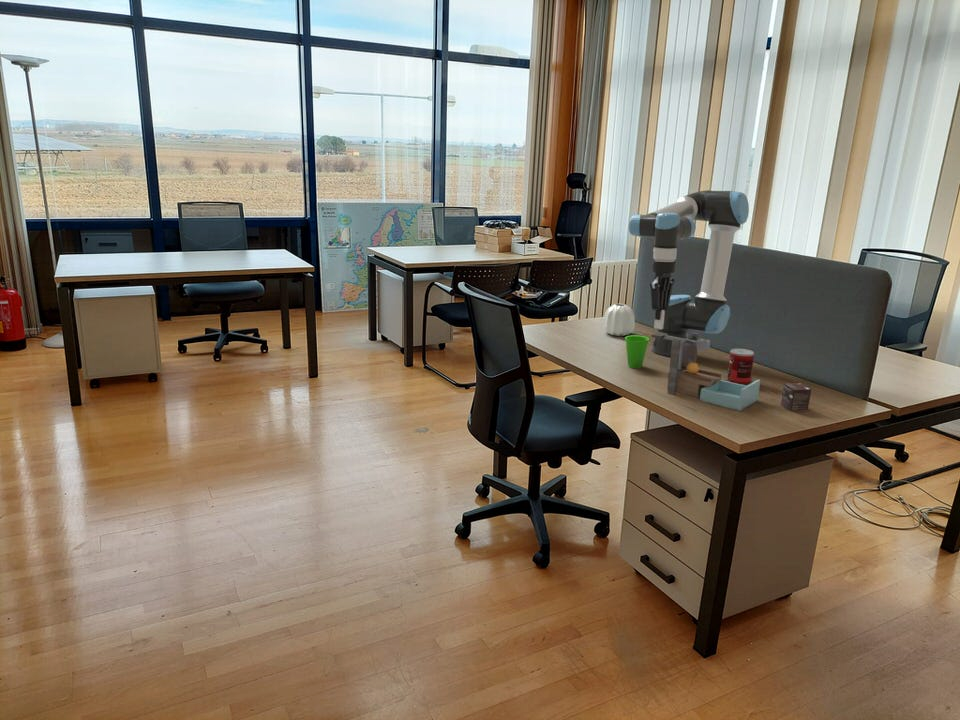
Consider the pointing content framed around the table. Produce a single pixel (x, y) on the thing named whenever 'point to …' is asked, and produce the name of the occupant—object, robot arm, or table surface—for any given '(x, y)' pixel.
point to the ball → (692, 368)
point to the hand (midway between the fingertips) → (658, 328)
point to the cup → (636, 350)
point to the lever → (685, 347)
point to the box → (796, 397)
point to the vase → (619, 320)
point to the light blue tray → (731, 394)
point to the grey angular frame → (683, 379)
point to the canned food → (740, 366)
